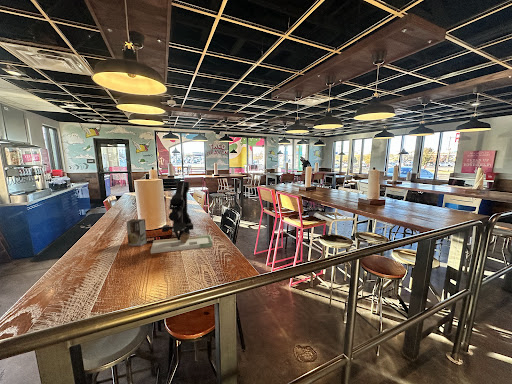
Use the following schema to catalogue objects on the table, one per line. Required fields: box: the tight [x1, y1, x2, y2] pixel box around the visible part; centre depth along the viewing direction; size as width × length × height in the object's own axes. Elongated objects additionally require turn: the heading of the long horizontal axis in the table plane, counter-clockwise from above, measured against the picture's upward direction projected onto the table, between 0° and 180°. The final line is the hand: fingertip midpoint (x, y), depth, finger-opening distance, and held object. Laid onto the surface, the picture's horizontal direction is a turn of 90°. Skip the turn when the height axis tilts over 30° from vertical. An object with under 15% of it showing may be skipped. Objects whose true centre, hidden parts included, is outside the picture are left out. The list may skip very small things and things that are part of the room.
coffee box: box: [126, 218, 148, 247], centre depth 137 cm, size 9×6×16 cm
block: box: [179, 232, 191, 243], centre depth 136 cm, size 4×4×4 cm
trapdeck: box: [150, 234, 213, 255], centre depth 135 cm, size 12×36×4 cm, turn 109°
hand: (178, 240), depth 136 cm, fingers closed
